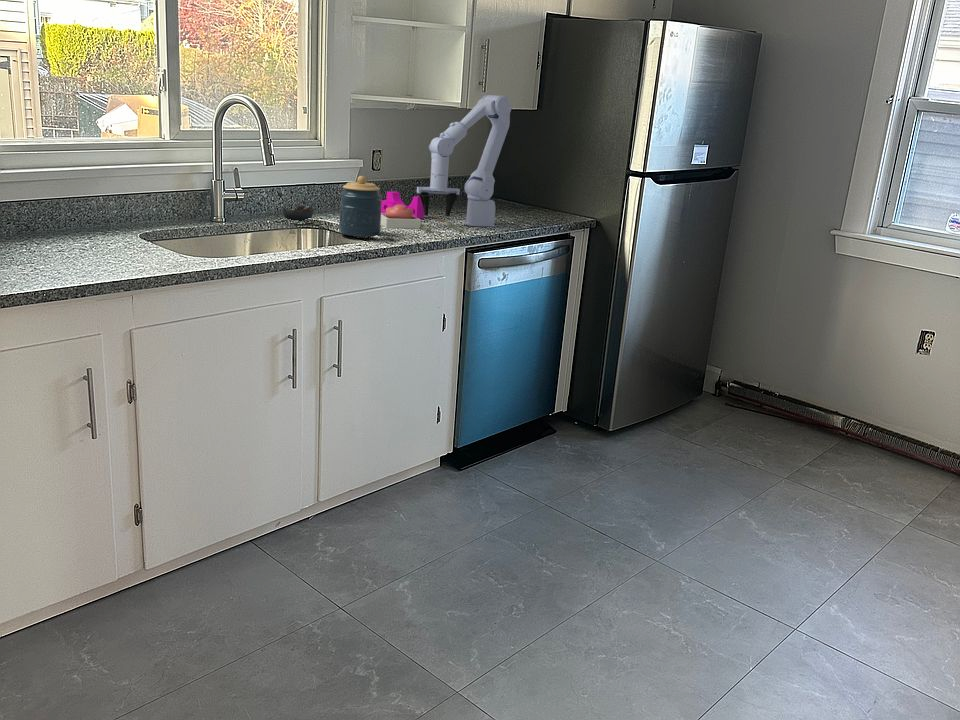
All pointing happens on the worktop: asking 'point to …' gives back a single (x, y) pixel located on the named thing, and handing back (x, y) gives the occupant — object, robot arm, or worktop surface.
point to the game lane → (444, 223)
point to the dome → (399, 212)
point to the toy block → (395, 199)
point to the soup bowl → (299, 214)
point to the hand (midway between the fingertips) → (436, 215)
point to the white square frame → (400, 222)
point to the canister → (360, 209)
